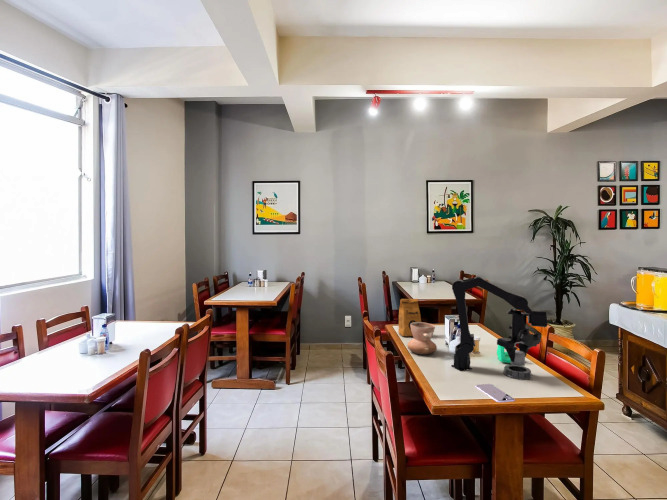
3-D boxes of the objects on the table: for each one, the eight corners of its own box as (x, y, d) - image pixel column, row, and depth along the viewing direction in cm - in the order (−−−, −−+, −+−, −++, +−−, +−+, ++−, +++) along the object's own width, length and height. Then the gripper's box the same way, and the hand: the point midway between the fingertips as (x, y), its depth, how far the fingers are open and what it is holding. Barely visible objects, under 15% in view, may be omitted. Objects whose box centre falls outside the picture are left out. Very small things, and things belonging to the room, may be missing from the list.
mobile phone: (491, 383, 149) (516, 399, 135) (491, 385, 149) (516, 402, 135) (473, 384, 148) (497, 400, 133) (473, 386, 148) (497, 403, 133)
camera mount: (519, 365, 172) (519, 343, 172) (501, 364, 174) (501, 342, 174) (513, 357, 184) (513, 337, 183) (496, 356, 186) (497, 335, 185)
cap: (518, 366, 157) (518, 354, 156) (507, 362, 162) (508, 350, 161) (527, 364, 159) (528, 352, 158) (517, 360, 164) (517, 349, 163)
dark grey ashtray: (518, 381, 153) (518, 374, 153) (497, 372, 163) (497, 366, 163) (537, 377, 157) (538, 371, 157) (516, 368, 167) (516, 363, 167)
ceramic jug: (440, 357, 182) (441, 328, 181) (411, 357, 182) (412, 328, 181) (430, 347, 200) (431, 321, 199) (403, 346, 200) (404, 320, 199)
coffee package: (422, 337, 218) (423, 300, 217) (401, 337, 217) (402, 300, 216) (416, 333, 228) (417, 297, 227) (397, 333, 226) (397, 297, 226)
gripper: (518, 331, 149) (517, 370, 149) (551, 327, 156) (550, 364, 156) (496, 324, 159) (495, 361, 159) (528, 321, 166) (527, 356, 166)
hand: (517, 361), depth 160 cm, fingers closed on cap, 5 cm apart
